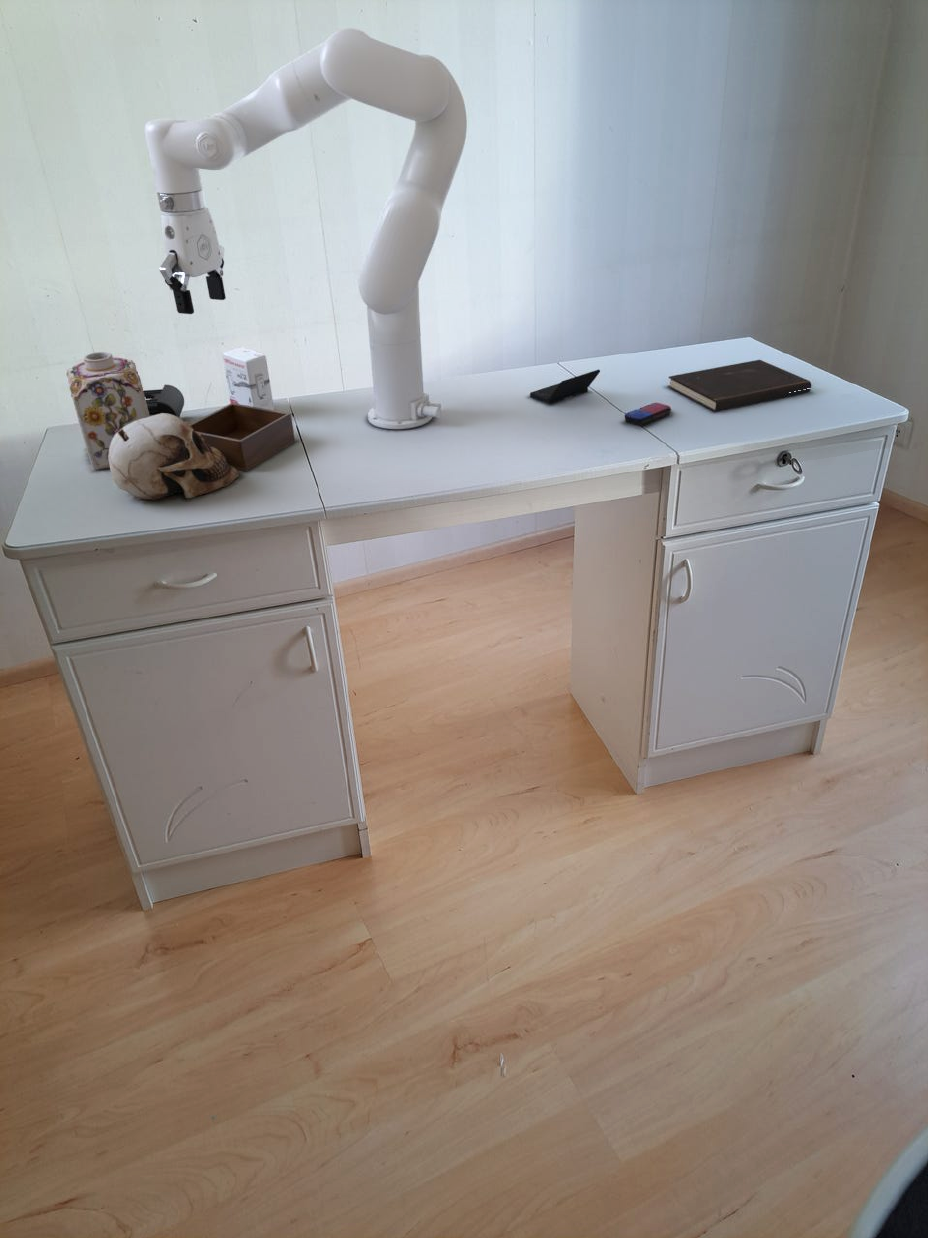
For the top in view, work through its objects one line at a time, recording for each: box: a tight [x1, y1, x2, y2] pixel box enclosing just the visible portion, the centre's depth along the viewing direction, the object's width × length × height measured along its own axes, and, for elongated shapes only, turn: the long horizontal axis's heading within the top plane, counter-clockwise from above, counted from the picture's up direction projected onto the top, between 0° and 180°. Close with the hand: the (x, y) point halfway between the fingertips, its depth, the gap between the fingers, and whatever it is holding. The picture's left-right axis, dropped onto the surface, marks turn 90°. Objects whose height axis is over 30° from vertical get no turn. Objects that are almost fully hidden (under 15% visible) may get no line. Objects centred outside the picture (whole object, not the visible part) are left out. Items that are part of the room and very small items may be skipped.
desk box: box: [189, 403, 296, 472], centre depth 156 cm, size 14×14×6 cm
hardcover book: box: [667, 359, 812, 412], centre depth 175 cm, size 16×23×2 cm
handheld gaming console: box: [529, 369, 601, 406], centre depth 174 cm, size 12×7×10 cm
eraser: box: [624, 402, 672, 427], centre depth 164 cm, size 11×4×2 cm, turn 133°
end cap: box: [143, 384, 185, 418], centre depth 166 cm, size 10×7×7 cm
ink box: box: [221, 346, 275, 411], centre depth 170 cm, size 9×5×12 cm, turn 47°
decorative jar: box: [66, 351, 150, 471], centre depth 153 cm, size 12×12×18 cm
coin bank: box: [108, 413, 240, 501], centre depth 142 cm, size 16×17×13 cm
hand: (202, 305), depth 157 cm, fingers open, 9 cm apart
